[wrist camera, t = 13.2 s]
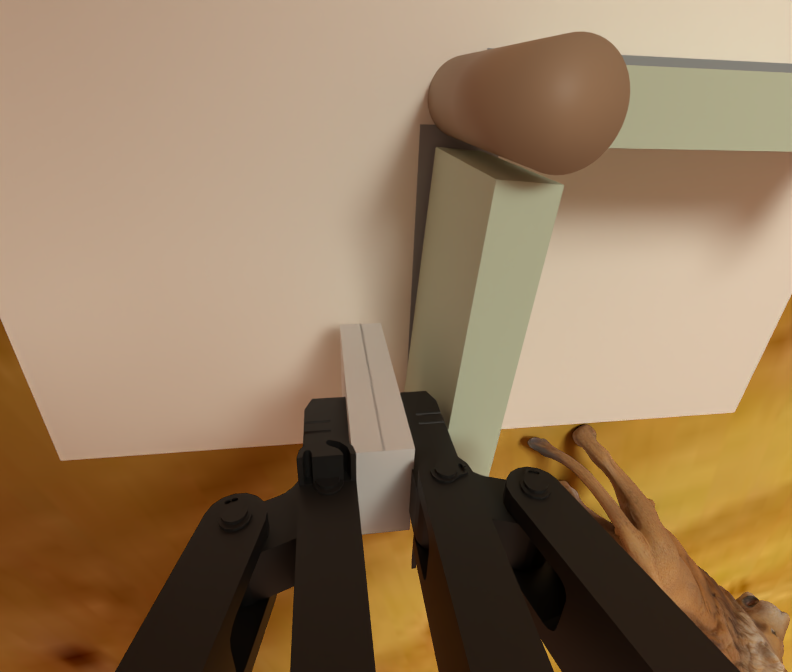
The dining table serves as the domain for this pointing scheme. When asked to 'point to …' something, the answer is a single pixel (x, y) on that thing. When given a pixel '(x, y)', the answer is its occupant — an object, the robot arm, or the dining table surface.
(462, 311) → the fence panel
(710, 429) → the dining table surface
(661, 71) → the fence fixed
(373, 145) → the card
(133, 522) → the dining table surface
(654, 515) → the lion figurine
